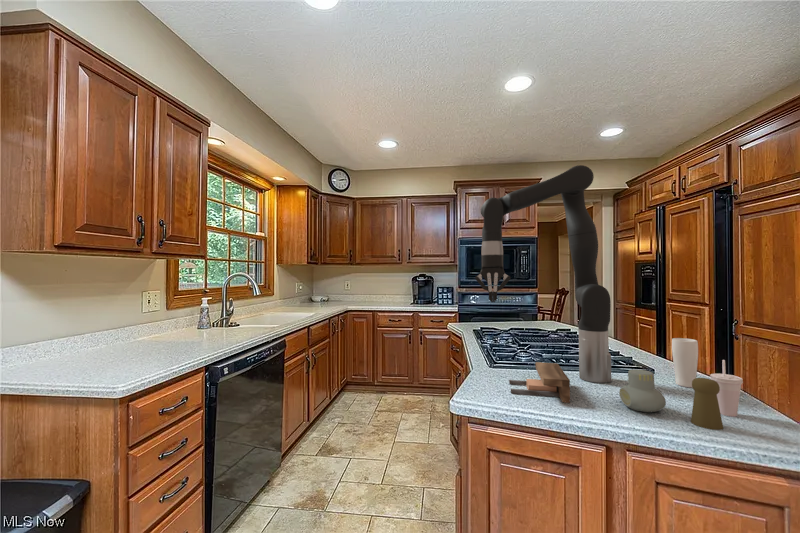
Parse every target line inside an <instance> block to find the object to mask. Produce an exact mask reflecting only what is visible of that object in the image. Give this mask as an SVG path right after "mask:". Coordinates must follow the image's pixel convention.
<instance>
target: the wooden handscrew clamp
mask: <svg viewBox="0 0 800 533" xmlns="http://www.w3.org/2000/svg"><path fill="white" fill-rule="evenodd" d="M535 369H536V372H537V374H538V376H539V378H540V380H541V381H542V383H543V385H545V386H556V390H557V392H553V391H539V390H528V389H525V388H524V389H522V388H510V394H515V395H525V396H528V395H529V396H539V395H541V396H542V397H553V396H555V397H557V398H560V400H561V402H562V403H563V402H564V404H565V403H566V404H571V380H570V378H569V377H568V376H567V374H566V373H565V371H564V370H563V369H562V368H561V366H560V365H559V363H557V362H556V363H555V362H540V361H539V362H537V361H536V362H535ZM508 381H509V385H517V386H526V380H519V379H509V380H508ZM541 396H540V397H541Z"/></svg>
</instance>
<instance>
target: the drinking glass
mask: <svg viewBox="0 0 800 533" xmlns="http://www.w3.org/2000/svg"><path fill="white" fill-rule="evenodd" d="M698 342H699V341H698V340H696V339H692V338H687V337H686V338H682V337H674V338H671V355H672V362H673V369H674V377H675V379H674V380H675V384H676V385H677V386H680V387H683V388H692V381H693V379H695V378H697V373H698V364H699V363H698V361H699V360H698V359H699V343H698ZM692 389H693V388H692Z"/></svg>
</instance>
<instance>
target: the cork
mask: <svg viewBox="0 0 800 533" xmlns="http://www.w3.org/2000/svg"><path fill="white" fill-rule="evenodd" d="M692 389H693V391H694V393H693V394H694V396H693V403H692V409H691V417H690V423H692V425H694V426H697V427H699V428H703V429H707V430H712V431H713V430H715V431H716V430H717V431H719V430H720V431H721V430H723V429H724V425H723V420H722V414H720V409H719V403H718V398H717V394H718V393H719V391H720V387H719V384H718V383H717V382H716V381H714V380H712V379H710V378H705V377H696V378H695V379H693V381H692Z"/></svg>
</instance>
